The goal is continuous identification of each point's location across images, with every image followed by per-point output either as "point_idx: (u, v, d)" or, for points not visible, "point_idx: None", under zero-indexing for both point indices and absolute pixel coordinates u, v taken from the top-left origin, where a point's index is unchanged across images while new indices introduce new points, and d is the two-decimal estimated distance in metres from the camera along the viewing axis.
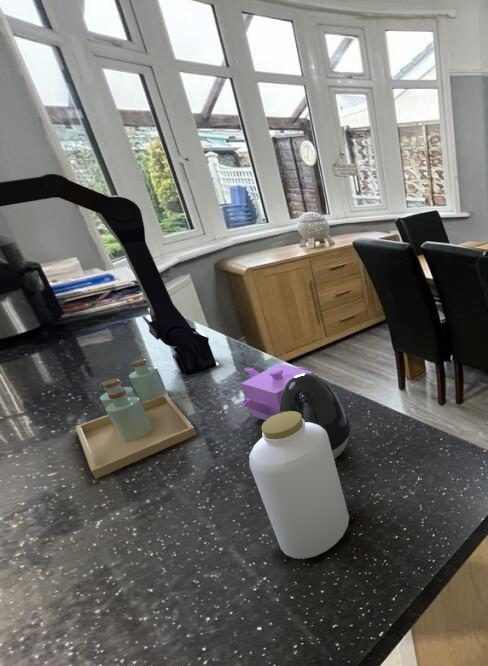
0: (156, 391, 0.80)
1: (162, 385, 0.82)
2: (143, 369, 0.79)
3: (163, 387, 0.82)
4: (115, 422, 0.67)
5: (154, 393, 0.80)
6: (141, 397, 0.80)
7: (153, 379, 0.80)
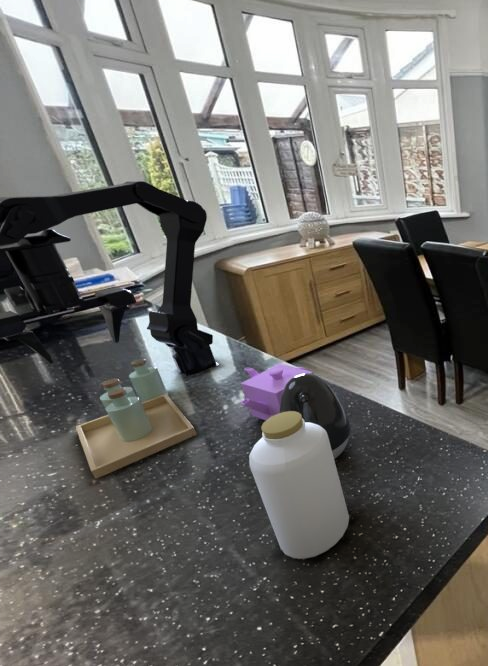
0: (156, 391, 0.80)
1: (162, 385, 0.82)
2: (143, 369, 0.79)
3: (163, 387, 0.82)
4: (115, 422, 0.67)
5: (154, 393, 0.80)
6: (141, 397, 0.80)
7: (153, 379, 0.80)
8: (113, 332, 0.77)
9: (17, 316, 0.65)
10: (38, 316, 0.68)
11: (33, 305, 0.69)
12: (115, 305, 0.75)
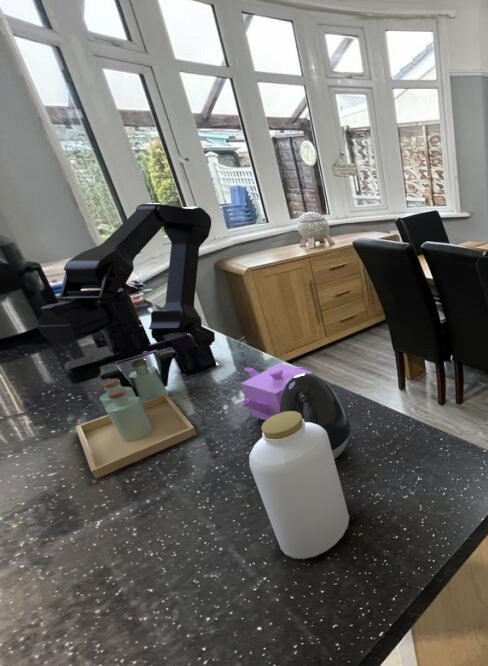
0: (156, 391, 0.80)
1: (162, 385, 0.82)
2: (143, 369, 0.79)
3: (163, 387, 0.82)
4: (115, 422, 0.67)
5: (154, 393, 0.80)
6: (141, 397, 0.80)
7: (153, 379, 0.80)
8: (162, 377, 0.82)
9: (94, 363, 0.72)
10: (112, 361, 0.75)
11: (110, 349, 0.77)
12: (177, 350, 0.81)
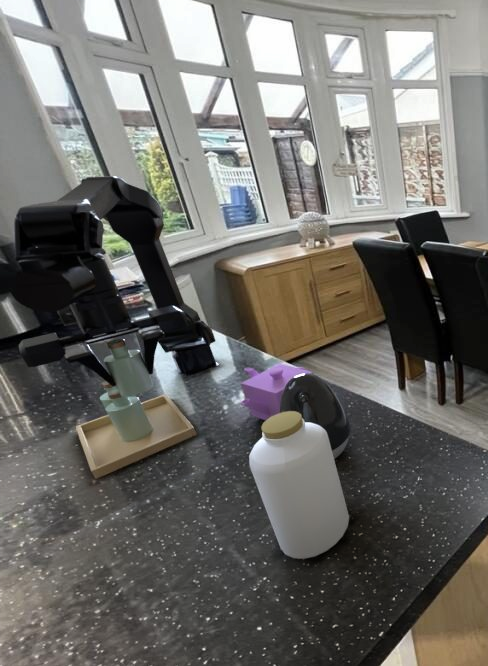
0: (138, 380, 0.65)
1: (146, 372, 0.66)
2: (122, 351, 0.63)
3: (147, 375, 0.66)
4: (115, 422, 0.67)
5: (136, 381, 0.65)
6: (119, 387, 0.64)
7: (134, 365, 0.64)
8: (146, 363, 0.66)
9: (57, 341, 0.57)
10: (81, 340, 0.59)
11: (80, 326, 0.61)
12: (165, 328, 0.65)
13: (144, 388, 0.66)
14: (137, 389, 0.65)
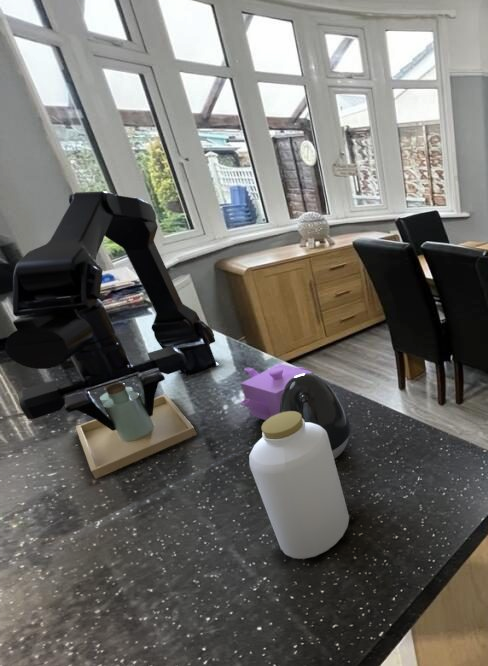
0: (138, 423, 0.65)
1: (146, 415, 0.66)
2: (121, 396, 0.63)
3: (147, 417, 0.66)
4: None
5: (136, 425, 0.65)
6: (118, 431, 0.64)
7: (133, 409, 0.64)
8: (146, 405, 0.66)
9: (56, 391, 0.56)
10: (81, 388, 0.59)
11: None
12: (165, 372, 0.65)
13: (144, 431, 0.66)
14: (137, 432, 0.65)
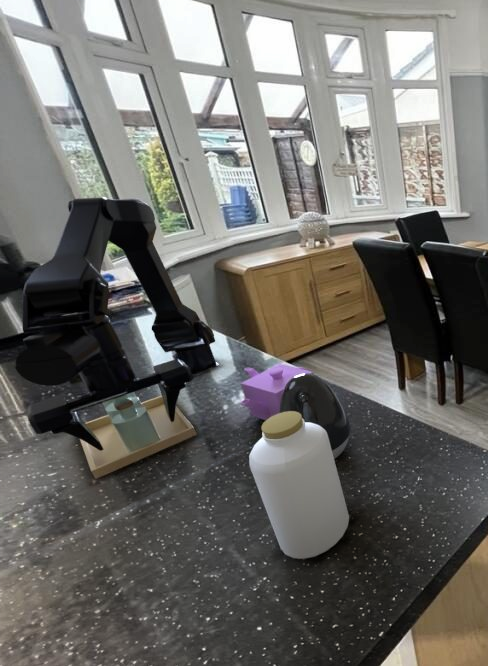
0: (145, 438, 0.66)
1: (153, 430, 0.67)
2: (129, 412, 0.64)
3: (154, 432, 0.67)
4: None
5: (143, 440, 0.66)
6: (126, 446, 0.65)
7: (141, 424, 0.65)
8: (168, 412, 0.68)
9: (64, 406, 0.57)
10: (88, 402, 0.60)
11: None
12: (170, 385, 0.66)
13: None
14: None
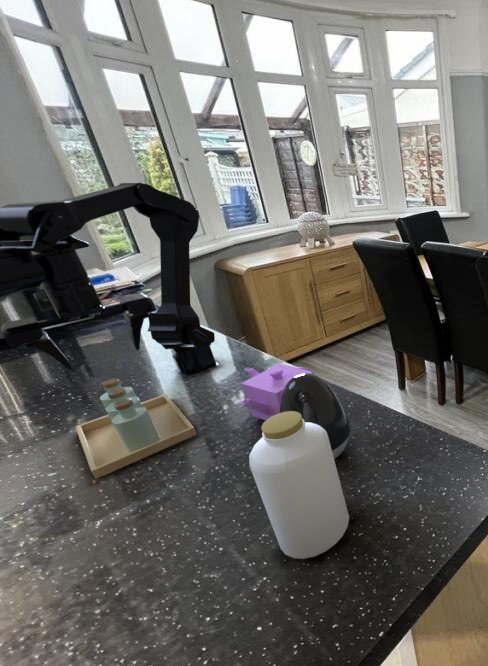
0: (145, 438, 0.66)
1: (153, 430, 0.67)
2: (129, 412, 0.64)
3: (154, 432, 0.67)
4: None
5: (143, 440, 0.66)
6: (126, 446, 0.65)
7: (141, 424, 0.65)
8: (133, 339, 0.75)
9: (35, 323, 0.64)
10: (57, 323, 0.67)
11: (56, 311, 0.69)
12: (134, 313, 0.73)
13: None
14: None
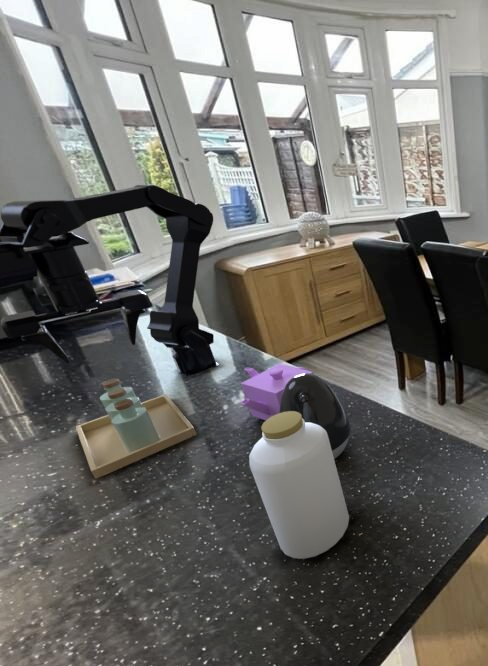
0: (145, 438, 0.66)
1: (153, 430, 0.67)
2: (129, 412, 0.64)
3: (154, 432, 0.67)
4: None
5: (143, 440, 0.66)
6: (126, 446, 0.65)
7: (141, 424, 0.65)
8: (129, 334, 0.77)
9: (33, 317, 0.66)
10: (55, 317, 0.69)
11: None
12: (130, 308, 0.75)
13: None
14: None
